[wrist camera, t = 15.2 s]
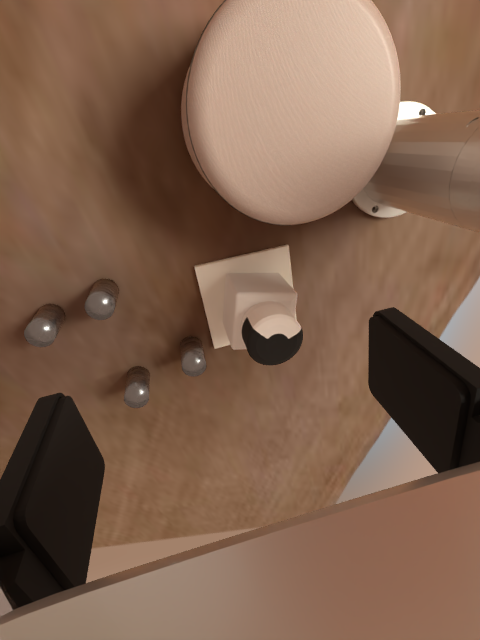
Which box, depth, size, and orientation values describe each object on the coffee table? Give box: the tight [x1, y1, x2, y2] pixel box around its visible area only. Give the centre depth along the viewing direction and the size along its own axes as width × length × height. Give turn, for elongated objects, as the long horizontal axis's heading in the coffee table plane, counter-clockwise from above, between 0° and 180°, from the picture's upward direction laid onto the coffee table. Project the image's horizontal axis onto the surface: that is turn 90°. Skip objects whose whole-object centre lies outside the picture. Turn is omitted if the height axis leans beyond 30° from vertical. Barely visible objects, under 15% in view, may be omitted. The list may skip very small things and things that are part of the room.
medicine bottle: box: [223, 273, 303, 365], centre depth 41 cm, size 7×7×12 cm
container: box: [181, 0, 401, 225], centre depth 33 cm, size 18×18×12 cm
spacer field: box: [24, 279, 206, 408], centre depth 44 cm, size 18×16×5 cm
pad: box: [194, 245, 297, 349], centre depth 47 cm, size 12×12×1 cm
